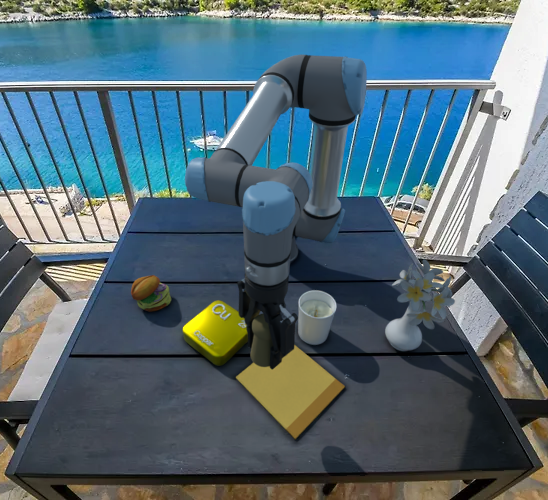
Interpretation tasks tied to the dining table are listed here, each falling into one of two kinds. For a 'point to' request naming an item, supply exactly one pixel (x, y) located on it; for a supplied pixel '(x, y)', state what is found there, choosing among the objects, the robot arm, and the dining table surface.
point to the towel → (292, 390)
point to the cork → (261, 342)
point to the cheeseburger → (150, 293)
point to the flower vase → (418, 306)
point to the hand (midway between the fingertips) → (264, 353)
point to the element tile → (216, 332)
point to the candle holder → (315, 316)
